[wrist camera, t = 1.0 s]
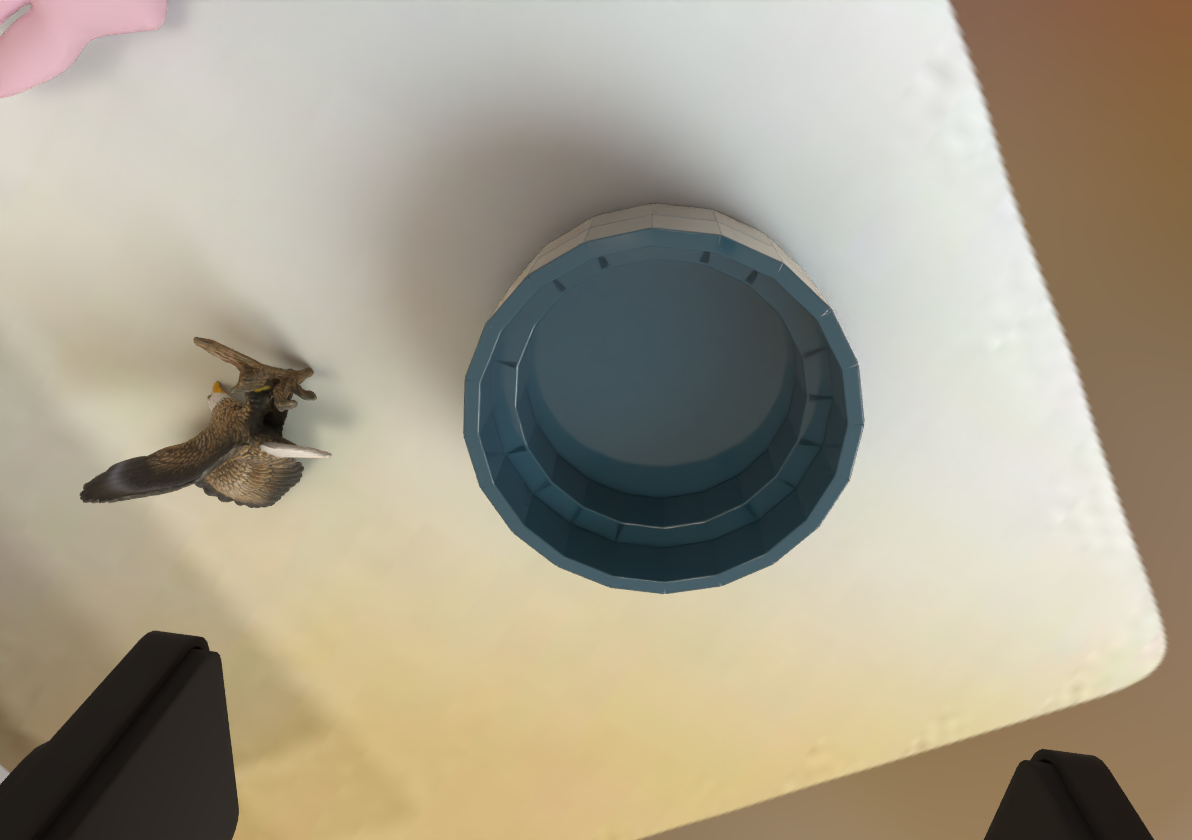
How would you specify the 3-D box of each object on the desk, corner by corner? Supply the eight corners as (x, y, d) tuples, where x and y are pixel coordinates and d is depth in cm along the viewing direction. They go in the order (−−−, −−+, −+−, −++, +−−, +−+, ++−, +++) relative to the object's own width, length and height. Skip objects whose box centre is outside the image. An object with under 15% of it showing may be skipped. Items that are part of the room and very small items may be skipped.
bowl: (427, 313, 33) (385, 358, 28) (735, 130, 29) (751, 144, 24) (600, 565, 37) (591, 642, 32) (885, 435, 34) (925, 500, 29)
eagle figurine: (185, 285, 32) (67, 448, 34) (207, 380, 27) (67, 565, 29) (343, 363, 37) (235, 500, 39) (384, 454, 32) (258, 606, 34)
